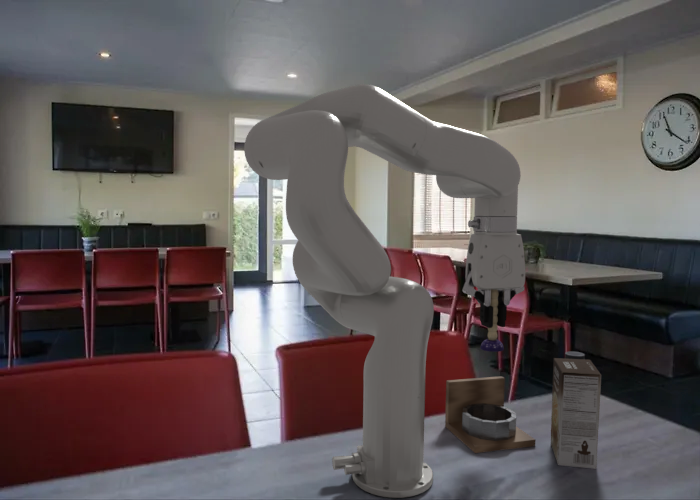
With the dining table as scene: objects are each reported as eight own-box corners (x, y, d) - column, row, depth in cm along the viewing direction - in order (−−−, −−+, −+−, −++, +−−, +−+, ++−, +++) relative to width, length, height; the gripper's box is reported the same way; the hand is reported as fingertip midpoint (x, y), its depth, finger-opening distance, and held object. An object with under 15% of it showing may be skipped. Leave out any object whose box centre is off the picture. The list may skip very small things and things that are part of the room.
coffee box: (548, 443, 100) (552, 356, 99) (586, 446, 99) (590, 359, 97) (557, 466, 91) (561, 371, 90) (598, 470, 90) (603, 373, 88)
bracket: (474, 453, 95) (476, 401, 95) (445, 426, 107) (446, 380, 106) (535, 446, 98) (537, 396, 98) (500, 421, 110) (501, 376, 109)
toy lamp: (486, 344, 105) (486, 258, 104) (510, 347, 102) (511, 259, 101) (476, 350, 101) (476, 260, 100) (501, 353, 99) (501, 261, 97)
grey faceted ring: (477, 442, 97) (478, 424, 96) (453, 422, 106) (454, 405, 106) (525, 437, 99) (526, 419, 99) (498, 418, 108) (498, 401, 108)
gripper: (465, 227, 94) (463, 333, 96) (545, 226, 98) (542, 328, 100) (446, 226, 101) (444, 324, 103) (521, 225, 106) (519, 319, 107)
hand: (492, 325), depth 101 cm, fingers closed on toy lamp
